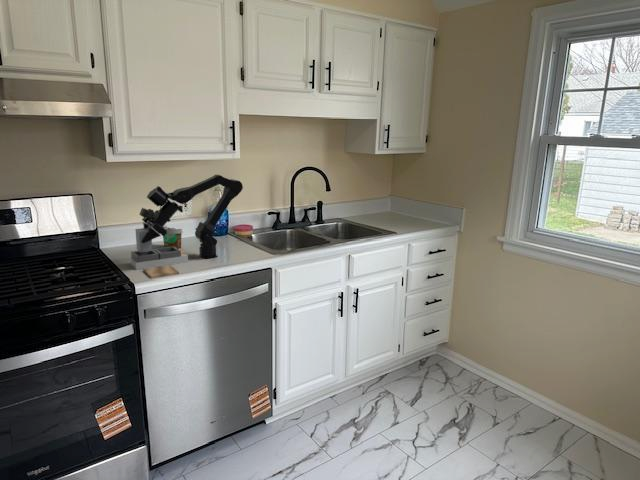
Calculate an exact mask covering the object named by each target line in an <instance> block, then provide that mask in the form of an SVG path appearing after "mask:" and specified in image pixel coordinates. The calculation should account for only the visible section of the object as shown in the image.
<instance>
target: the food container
mask: <svg viewBox="0 0 640 480" xmlns="http://www.w3.org/2000/svg"><path fill="white" fill-rule="evenodd" d="M163 227H164V229H166V230H167V234H166V235H165V236H162V238H163V245H164V247H163V248H165V247H173V246H174V247H176V248H177V249H179V248H180V249H182V234H183V229H182V228H175V227H167V225H164V226H163ZM180 249H179V250H180Z"/></svg>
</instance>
